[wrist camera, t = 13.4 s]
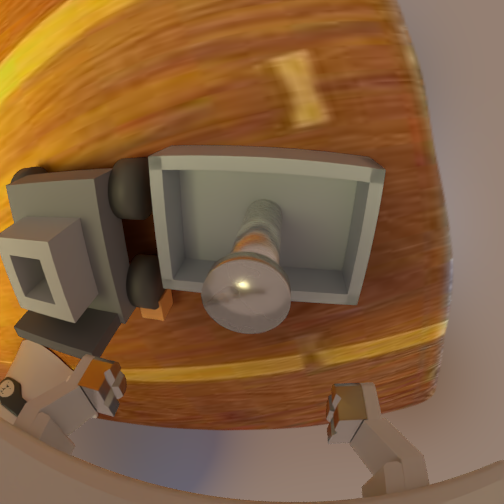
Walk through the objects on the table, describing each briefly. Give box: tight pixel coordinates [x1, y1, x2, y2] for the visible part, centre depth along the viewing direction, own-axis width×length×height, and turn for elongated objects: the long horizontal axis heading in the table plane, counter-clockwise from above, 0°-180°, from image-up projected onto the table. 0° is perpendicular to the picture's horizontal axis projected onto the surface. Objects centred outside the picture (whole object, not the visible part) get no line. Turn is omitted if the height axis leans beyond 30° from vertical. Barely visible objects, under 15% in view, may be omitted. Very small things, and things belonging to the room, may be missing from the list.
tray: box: [148, 145, 386, 305], centre depth 23 cm, size 11×16×4 cm
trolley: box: [0, 157, 173, 359], centre depth 23 cm, size 16×15×12 cm
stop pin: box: [201, 199, 291, 334], centre depth 19 cm, size 4×4×11 cm
